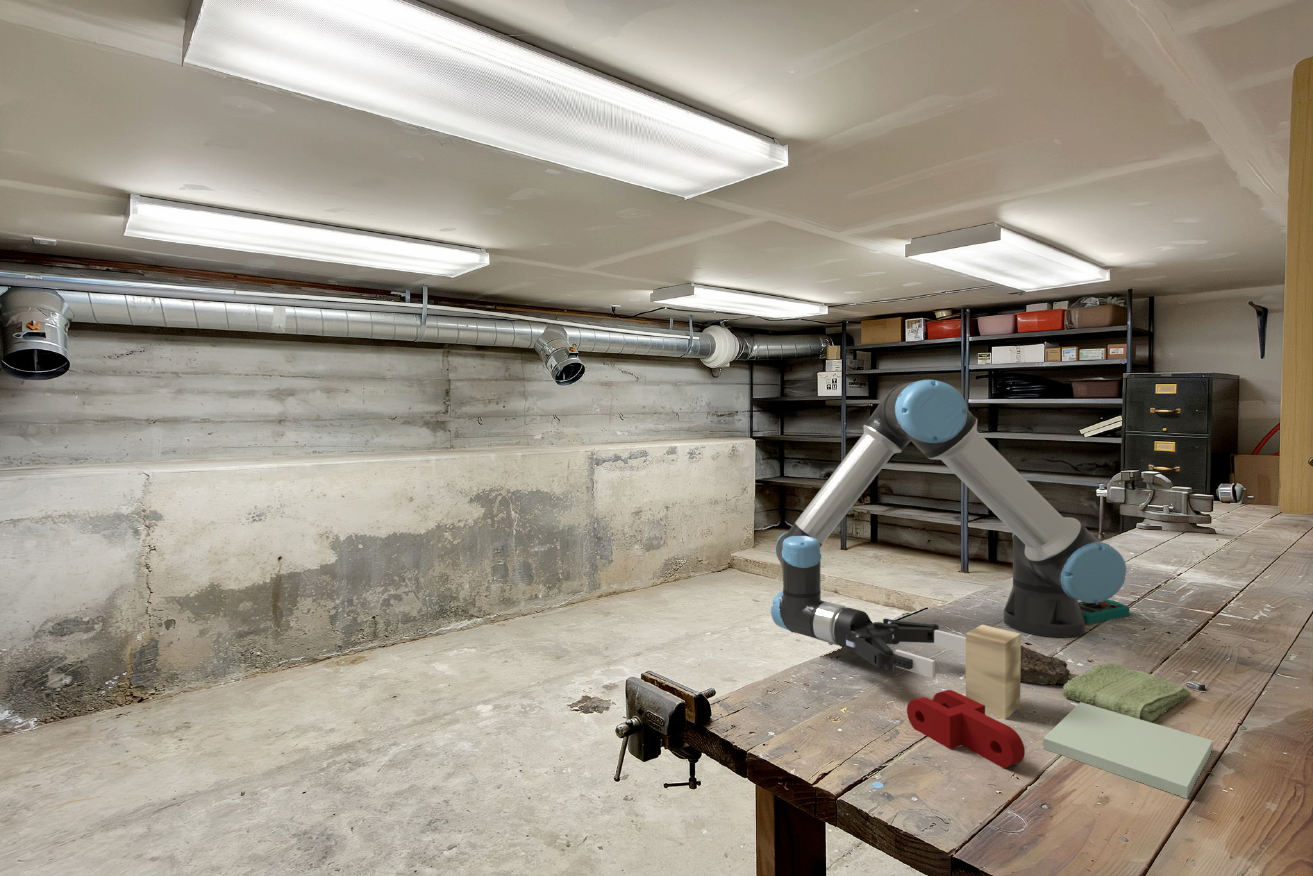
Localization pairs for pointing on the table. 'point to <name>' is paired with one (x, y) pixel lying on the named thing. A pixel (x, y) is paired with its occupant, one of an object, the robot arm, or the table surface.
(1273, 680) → the table surface
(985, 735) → the mechanical linkage
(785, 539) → the robot arm
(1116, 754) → the sage board
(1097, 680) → the washcloth
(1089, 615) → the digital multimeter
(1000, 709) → the beech block
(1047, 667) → the brown rock
